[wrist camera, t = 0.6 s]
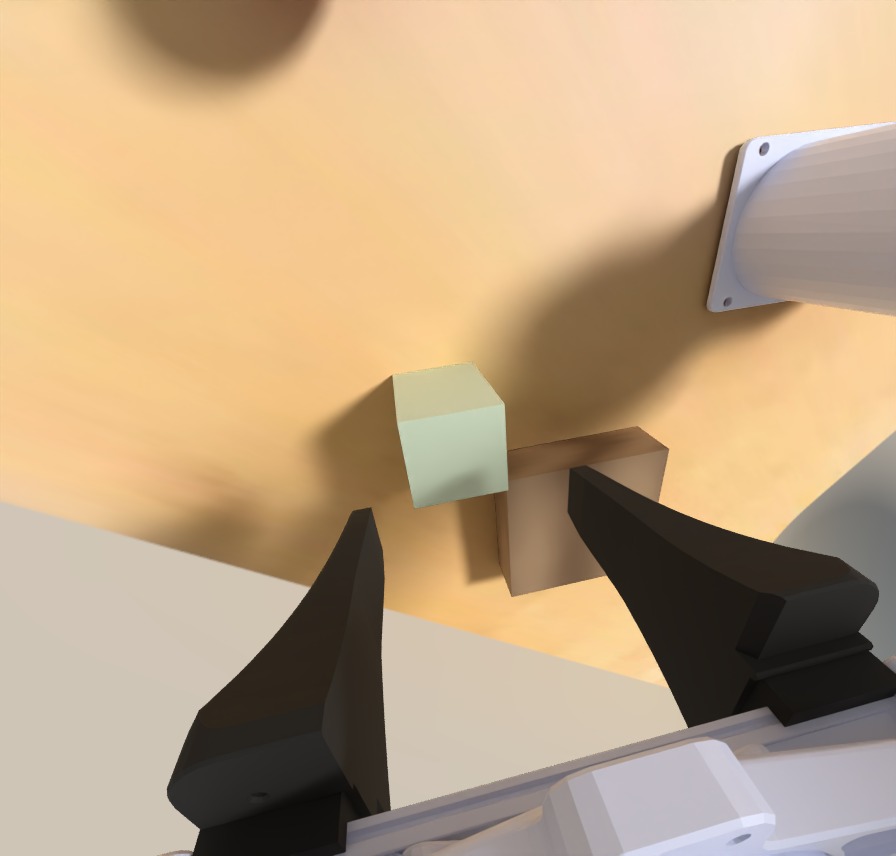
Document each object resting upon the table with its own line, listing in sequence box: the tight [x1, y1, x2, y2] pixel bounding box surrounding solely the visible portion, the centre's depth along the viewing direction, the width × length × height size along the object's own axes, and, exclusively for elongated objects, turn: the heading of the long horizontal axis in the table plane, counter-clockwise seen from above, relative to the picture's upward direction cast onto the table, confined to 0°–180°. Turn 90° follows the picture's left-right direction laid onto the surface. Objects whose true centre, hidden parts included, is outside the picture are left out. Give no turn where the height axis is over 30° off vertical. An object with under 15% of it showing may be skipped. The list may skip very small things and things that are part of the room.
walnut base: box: [495, 426, 669, 597], centre depth 25 cm, size 10×10×3 cm
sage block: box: [392, 362, 508, 509], centre depth 19 cm, size 4×4×6 cm
